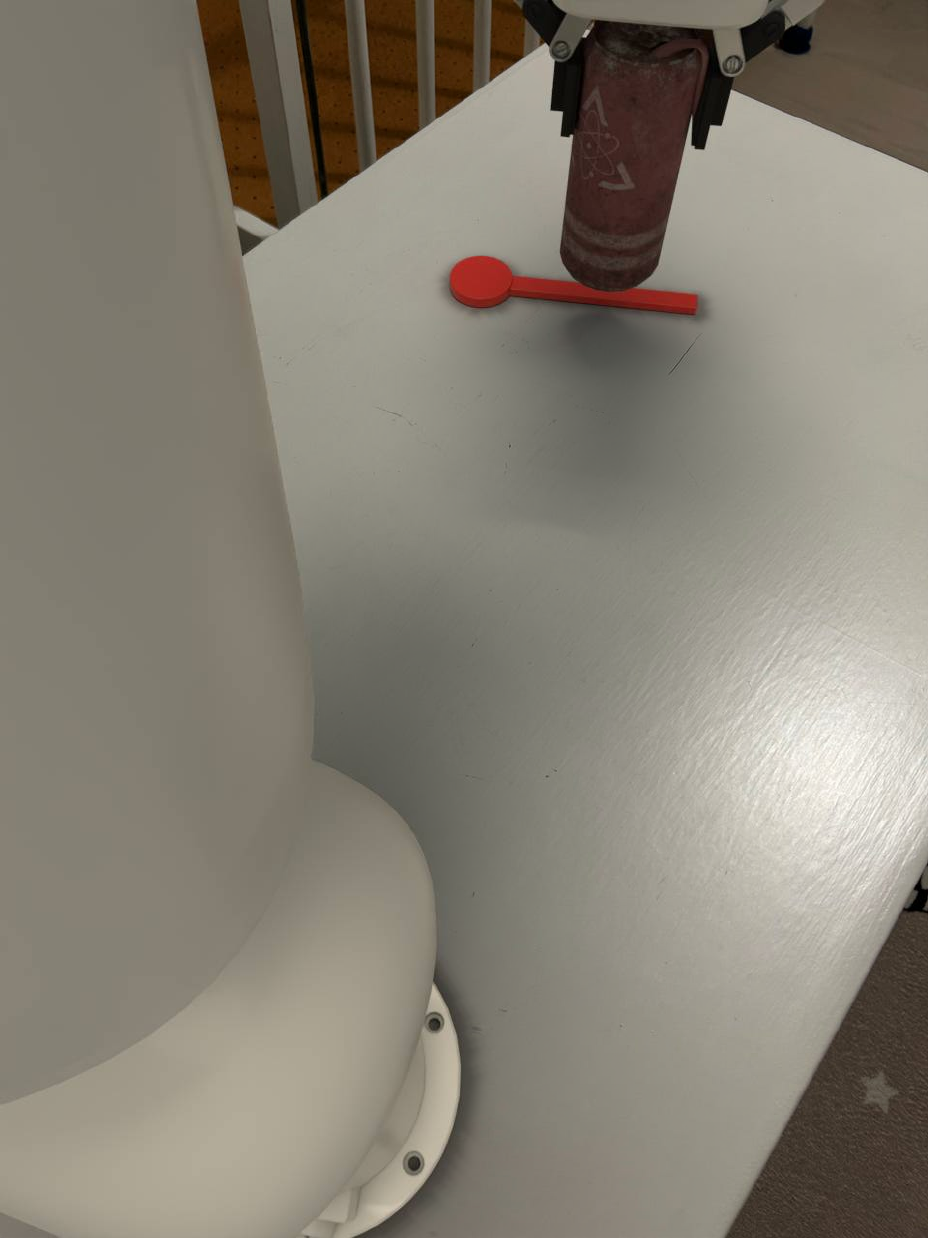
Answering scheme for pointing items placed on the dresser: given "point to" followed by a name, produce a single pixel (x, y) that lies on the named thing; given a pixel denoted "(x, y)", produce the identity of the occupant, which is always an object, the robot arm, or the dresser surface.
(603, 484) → the dresser surface
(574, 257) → the can
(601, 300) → the spoon
